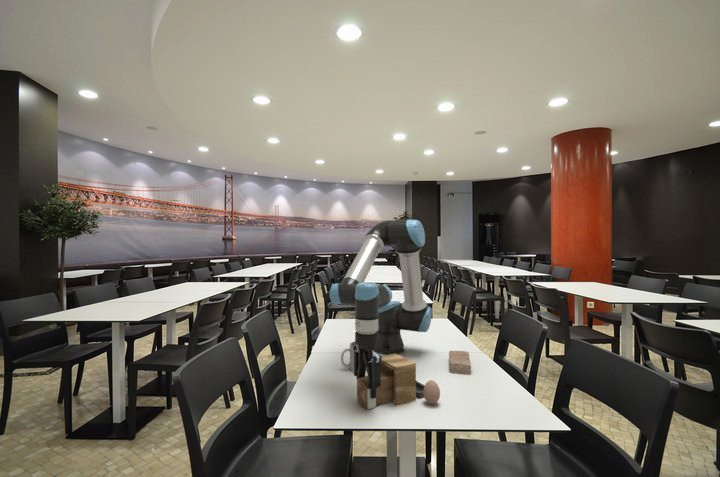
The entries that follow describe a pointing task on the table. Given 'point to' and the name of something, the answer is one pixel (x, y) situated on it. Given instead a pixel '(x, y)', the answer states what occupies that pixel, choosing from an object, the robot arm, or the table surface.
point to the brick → (459, 362)
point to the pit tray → (419, 390)
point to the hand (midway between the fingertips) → (366, 403)
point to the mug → (350, 356)
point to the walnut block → (382, 393)
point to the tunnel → (401, 377)
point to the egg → (431, 392)
